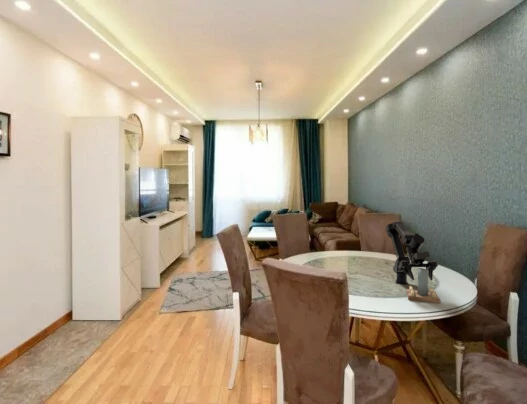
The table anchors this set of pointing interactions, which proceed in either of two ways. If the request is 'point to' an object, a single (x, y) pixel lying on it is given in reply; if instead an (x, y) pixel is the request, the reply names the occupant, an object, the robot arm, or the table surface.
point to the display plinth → (414, 296)
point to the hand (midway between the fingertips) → (422, 280)
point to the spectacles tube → (422, 282)
